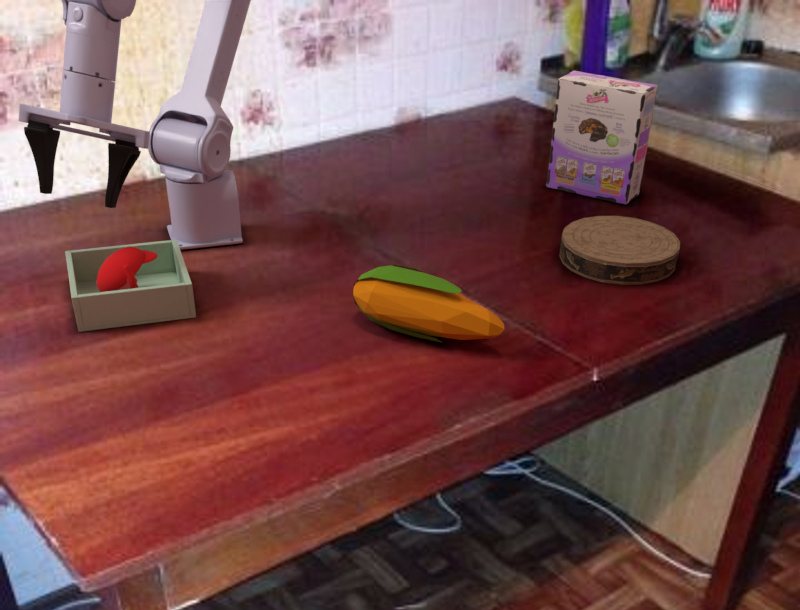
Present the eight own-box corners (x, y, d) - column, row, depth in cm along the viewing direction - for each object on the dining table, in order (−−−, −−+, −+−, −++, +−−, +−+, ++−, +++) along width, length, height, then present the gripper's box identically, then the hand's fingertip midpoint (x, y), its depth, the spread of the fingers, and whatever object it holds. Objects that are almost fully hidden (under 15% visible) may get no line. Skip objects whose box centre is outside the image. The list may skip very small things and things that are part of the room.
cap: (122, 315, 119) (114, 269, 115) (90, 301, 122) (81, 255, 118) (172, 292, 124) (166, 247, 120) (140, 279, 127) (133, 234, 123)
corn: (371, 243, 119) (522, 281, 112) (373, 299, 124) (517, 339, 117) (338, 269, 114) (494, 311, 107) (342, 327, 120) (490, 370, 112)
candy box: (640, 195, 154) (660, 83, 144) (625, 206, 150) (645, 93, 140) (560, 176, 160) (574, 67, 149) (544, 187, 156) (557, 76, 145)
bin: (180, 271, 130) (176, 239, 127) (196, 317, 120) (192, 283, 117) (71, 283, 126) (64, 250, 123) (78, 332, 117) (71, 297, 114)
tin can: (584, 289, 128) (587, 267, 126) (543, 240, 140) (545, 219, 138) (696, 279, 131) (701, 258, 129) (646, 232, 143) (650, 212, 141)
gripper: (11, 58, 108) (3, 187, 112) (143, 87, 108) (129, 214, 113) (35, 65, 114) (26, 186, 119) (159, 92, 115) (145, 212, 119)
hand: (78, 200), depth 116 cm, fingers open, 7 cm apart
